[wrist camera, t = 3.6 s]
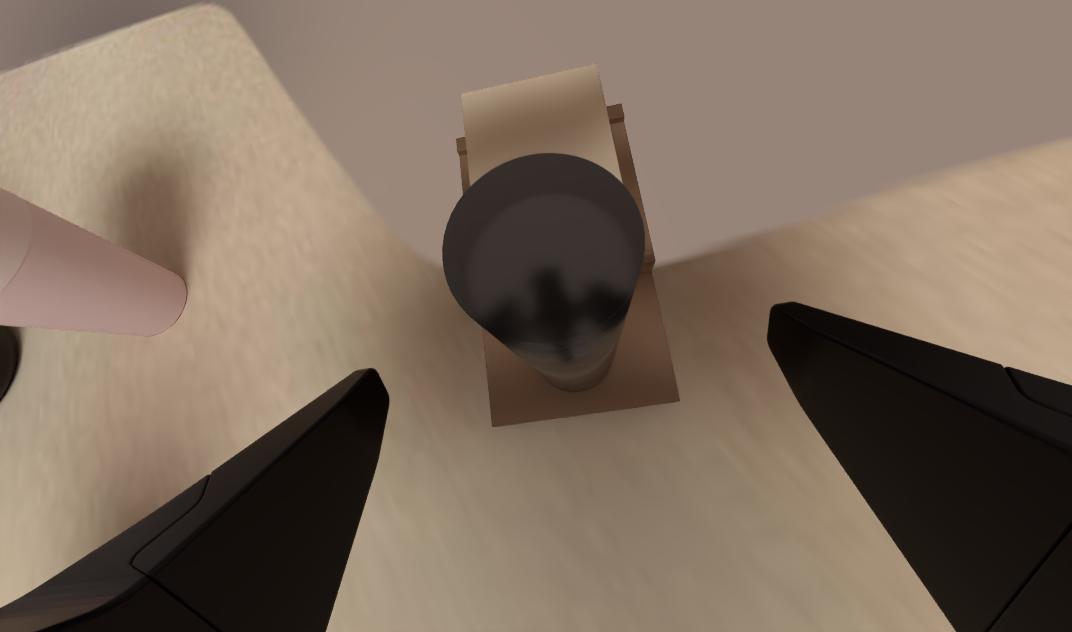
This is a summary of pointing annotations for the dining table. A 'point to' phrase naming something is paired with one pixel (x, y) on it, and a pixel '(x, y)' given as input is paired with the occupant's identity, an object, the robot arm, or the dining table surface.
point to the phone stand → (560, 285)
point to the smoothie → (78, 278)
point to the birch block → (539, 121)
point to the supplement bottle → (6, 358)
